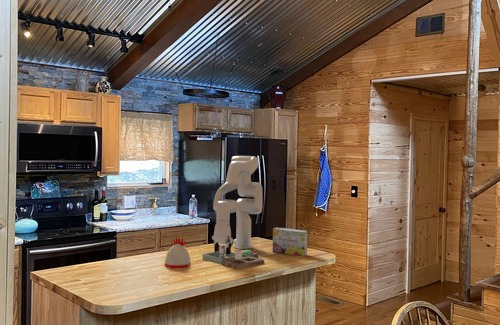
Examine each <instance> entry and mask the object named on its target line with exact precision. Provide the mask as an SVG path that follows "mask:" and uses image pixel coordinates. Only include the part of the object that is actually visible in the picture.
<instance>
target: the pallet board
mask: <svg viewBox="0 0 500 325" xmlns="http://www.w3.org/2000/svg"><path fill="white" fill-rule="evenodd" d="M262 264H265V259H263V258H259V257H258V258H255V257H251V256H247V257H242V263H239V264H238V263H235V259H233V260H228V261H223V264H222V266H223V267H227V268H230V269H235V270H238V271H239V270H242V269H246V268H251V267H255V266H259V265H262Z"/></svg>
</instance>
